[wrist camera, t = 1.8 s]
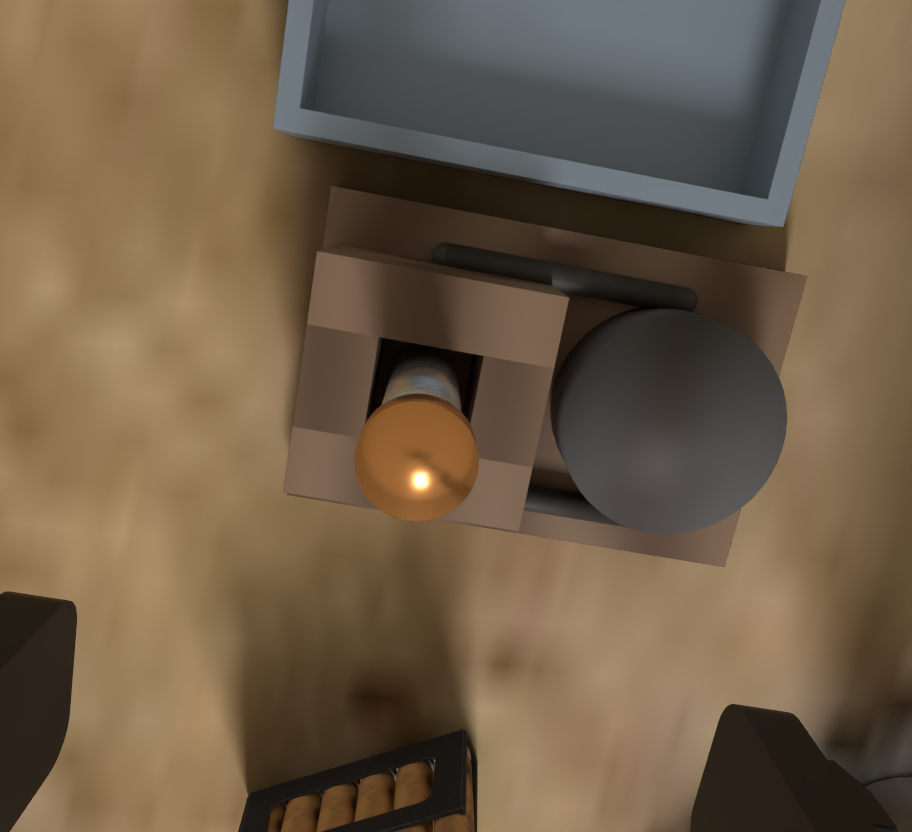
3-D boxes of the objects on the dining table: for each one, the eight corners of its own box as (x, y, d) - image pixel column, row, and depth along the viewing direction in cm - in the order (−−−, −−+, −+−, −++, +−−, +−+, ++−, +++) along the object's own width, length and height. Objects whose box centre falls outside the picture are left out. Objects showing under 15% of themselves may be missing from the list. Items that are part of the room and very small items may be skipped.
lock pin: (471, 336, 31) (489, 414, 20) (456, 412, 32) (466, 530, 20) (392, 322, 31) (364, 392, 20) (379, 399, 32) (345, 510, 20)
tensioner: (785, 271, 33) (875, 289, 26) (709, 547, 36) (771, 627, 29) (337, 187, 32) (309, 182, 25) (295, 478, 35) (260, 545, 28)
